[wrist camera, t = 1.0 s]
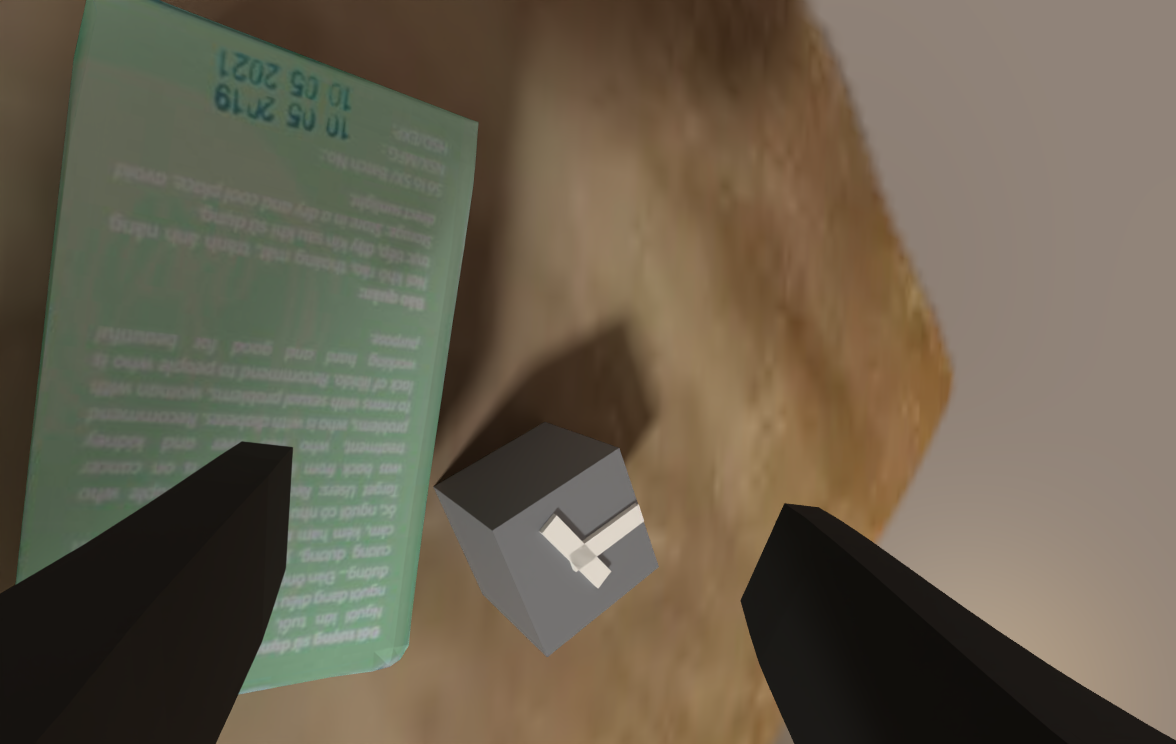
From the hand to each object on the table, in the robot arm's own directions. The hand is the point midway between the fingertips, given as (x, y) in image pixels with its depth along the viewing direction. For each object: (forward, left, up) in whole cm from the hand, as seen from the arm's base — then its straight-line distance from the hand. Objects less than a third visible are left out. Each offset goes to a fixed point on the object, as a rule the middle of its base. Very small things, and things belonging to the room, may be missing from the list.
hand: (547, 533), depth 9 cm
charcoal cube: (+4, -7, -13) cm, 16 cm away
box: (-2, +2, -14) cm, 14 cm away
